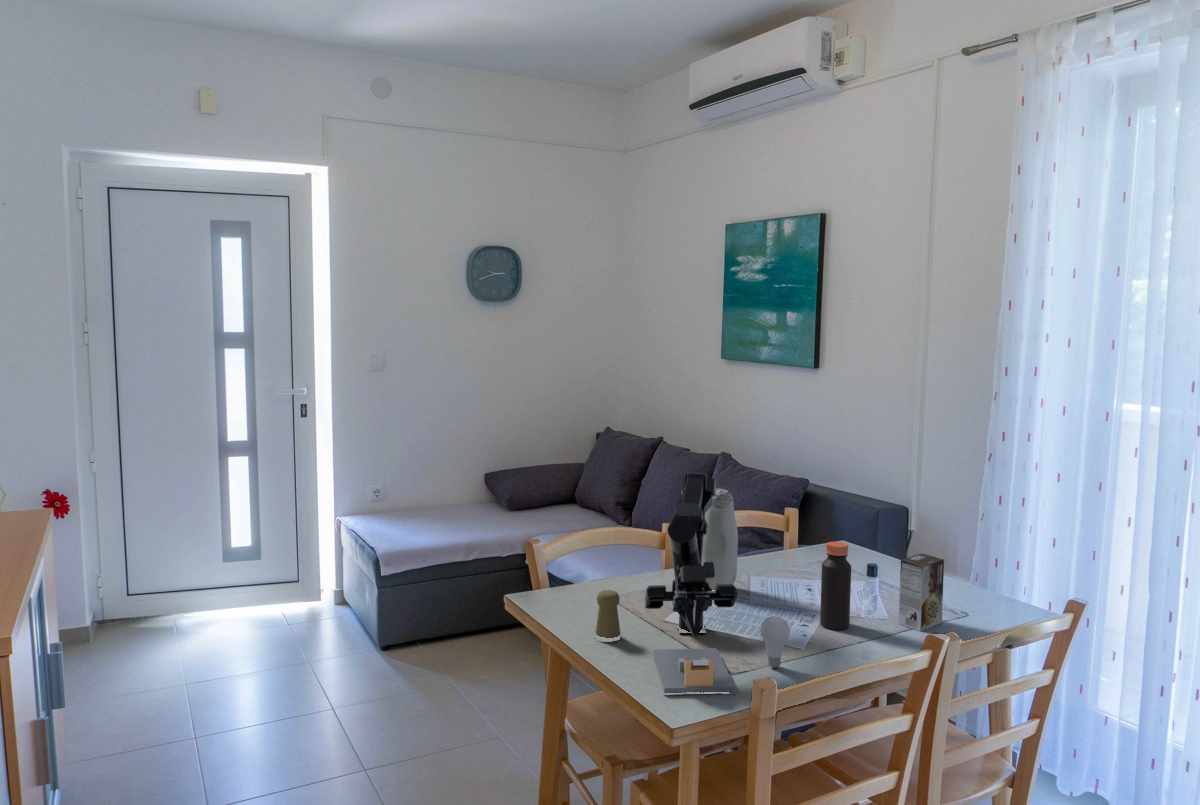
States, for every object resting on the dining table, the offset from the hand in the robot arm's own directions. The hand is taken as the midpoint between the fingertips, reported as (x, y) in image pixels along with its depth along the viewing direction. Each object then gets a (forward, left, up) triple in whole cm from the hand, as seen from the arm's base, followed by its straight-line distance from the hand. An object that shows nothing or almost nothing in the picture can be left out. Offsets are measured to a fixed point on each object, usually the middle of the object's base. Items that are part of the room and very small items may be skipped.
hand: (695, 635), depth 167 cm
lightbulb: (-5, +18, -10) cm, 21 cm away
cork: (-23, -16, -10) cm, 30 cm away
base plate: (-3, 0, -9) cm, 10 cm away
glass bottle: (-55, +16, -10) cm, 58 cm away
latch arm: (+3, 0, -5) cm, 6 cm away
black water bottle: (-28, +39, -10) cm, 49 cm away
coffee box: (-28, +60, -10) cm, 67 cm away
